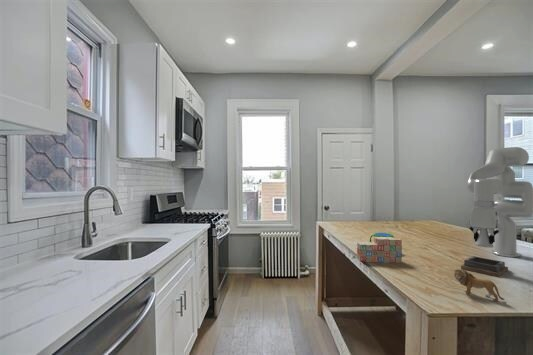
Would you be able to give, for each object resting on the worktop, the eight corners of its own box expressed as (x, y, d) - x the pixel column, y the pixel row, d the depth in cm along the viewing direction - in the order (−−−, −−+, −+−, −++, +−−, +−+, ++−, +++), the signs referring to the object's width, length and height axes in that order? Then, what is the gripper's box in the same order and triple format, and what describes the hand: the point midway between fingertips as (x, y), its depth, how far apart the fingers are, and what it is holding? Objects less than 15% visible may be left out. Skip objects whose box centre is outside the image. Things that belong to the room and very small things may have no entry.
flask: (490, 245, 134) (490, 224, 134) (496, 248, 127) (495, 227, 127) (472, 243, 137) (472, 223, 137) (476, 247, 130) (476, 225, 131)
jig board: (473, 263, 142) (472, 255, 143) (508, 270, 131) (507, 261, 131) (460, 268, 133) (460, 260, 133) (497, 276, 122) (497, 267, 122)
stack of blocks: (360, 262, 144) (359, 238, 144) (356, 258, 150) (356, 236, 150) (402, 263, 142) (401, 239, 143) (397, 259, 149) (397, 237, 149)
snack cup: (367, 250, 168) (367, 233, 168) (373, 247, 176) (373, 231, 176) (394, 255, 158) (394, 237, 158) (399, 251, 166) (399, 234, 166)
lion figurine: (453, 293, 104) (453, 269, 104) (454, 289, 108) (454, 266, 108) (505, 303, 95) (504, 277, 95) (503, 298, 99) (503, 273, 100)
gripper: (509, 205, 128) (509, 244, 127) (466, 203, 142) (466, 238, 141) (504, 206, 123) (504, 247, 123) (460, 203, 137) (460, 240, 137)
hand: (484, 242), depth 132 cm, fingers closed on flask, 5 cm apart
